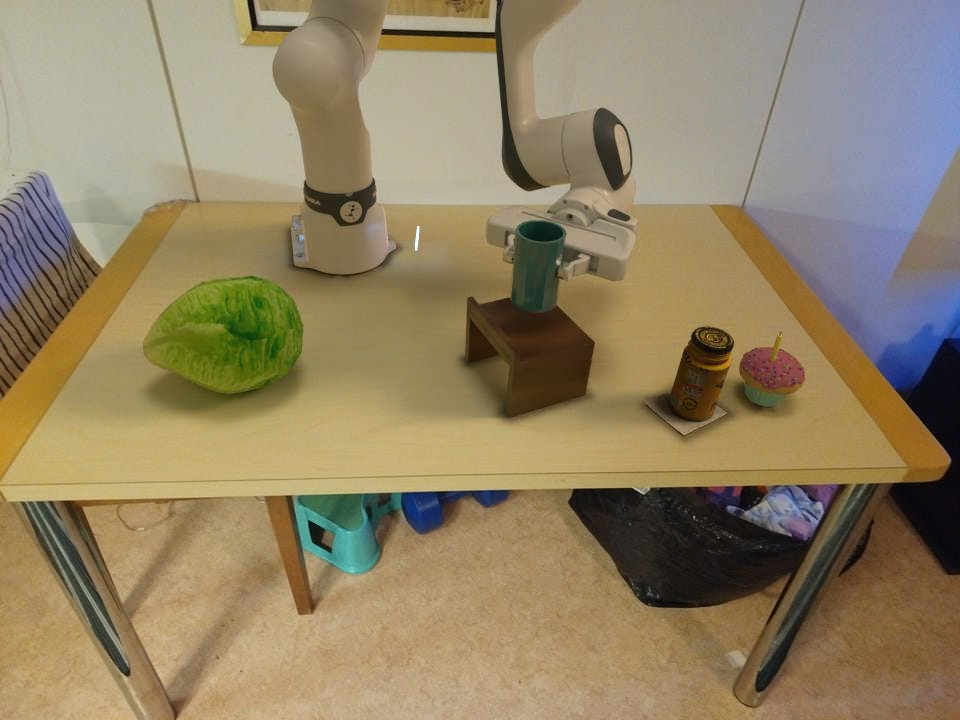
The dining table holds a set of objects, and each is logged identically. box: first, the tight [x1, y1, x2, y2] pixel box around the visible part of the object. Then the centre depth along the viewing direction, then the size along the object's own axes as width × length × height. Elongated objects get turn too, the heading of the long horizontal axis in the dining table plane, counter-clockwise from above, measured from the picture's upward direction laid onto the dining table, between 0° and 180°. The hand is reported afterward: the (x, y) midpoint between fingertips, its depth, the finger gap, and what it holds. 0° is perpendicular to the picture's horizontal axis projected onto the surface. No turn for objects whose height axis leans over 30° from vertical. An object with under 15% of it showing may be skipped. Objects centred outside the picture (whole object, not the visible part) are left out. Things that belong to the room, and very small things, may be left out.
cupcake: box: [738, 330, 806, 408], centre depth 89 cm, size 9×8×12 cm
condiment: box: [644, 325, 735, 436], centre depth 86 cm, size 7×8×12 cm
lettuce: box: [142, 275, 304, 395], centre depth 86 cm, size 17×20×15 cm
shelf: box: [464, 295, 596, 418], centre depth 91 cm, size 14×12×11 cm
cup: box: [509, 220, 567, 313], centre depth 84 cm, size 6×6×10 cm
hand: (534, 266), depth 83 cm, fingers closed on cup, 6 cm apart
